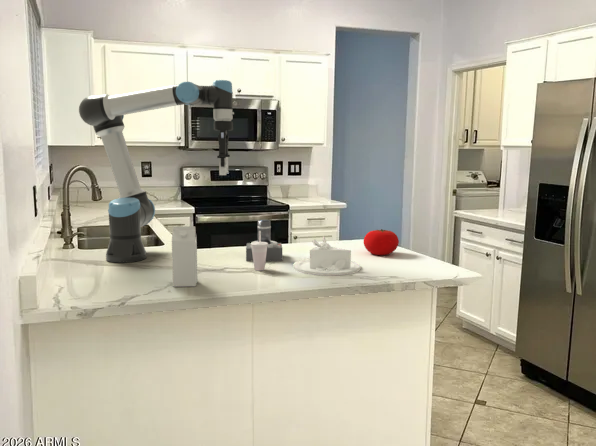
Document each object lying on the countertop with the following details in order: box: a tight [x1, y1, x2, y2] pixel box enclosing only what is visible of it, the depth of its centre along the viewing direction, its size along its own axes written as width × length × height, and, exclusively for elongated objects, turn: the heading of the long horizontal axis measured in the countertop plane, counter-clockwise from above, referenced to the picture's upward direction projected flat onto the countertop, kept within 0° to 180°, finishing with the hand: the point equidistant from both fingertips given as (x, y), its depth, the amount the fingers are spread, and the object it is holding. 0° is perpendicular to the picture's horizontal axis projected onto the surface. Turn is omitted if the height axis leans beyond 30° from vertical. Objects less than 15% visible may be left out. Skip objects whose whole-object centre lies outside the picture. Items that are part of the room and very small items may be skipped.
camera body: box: [245, 240, 283, 262], centre depth 221 cm, size 14×11×6 cm
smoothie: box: [251, 231, 268, 272], centre depth 201 cm, size 6×6×14 cm
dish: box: [292, 235, 361, 277], centre depth 205 cm, size 25×25×11 cm
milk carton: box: [171, 225, 198, 288], centre depth 180 cm, size 7×7×19 cm
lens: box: [257, 219, 272, 244], centre depth 220 cm, size 5×5×10 cm
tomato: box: [363, 228, 400, 256], centre depth 230 cm, size 14×13×10 cm
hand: (224, 174), depth 224 cm, fingers open, 13 cm apart
